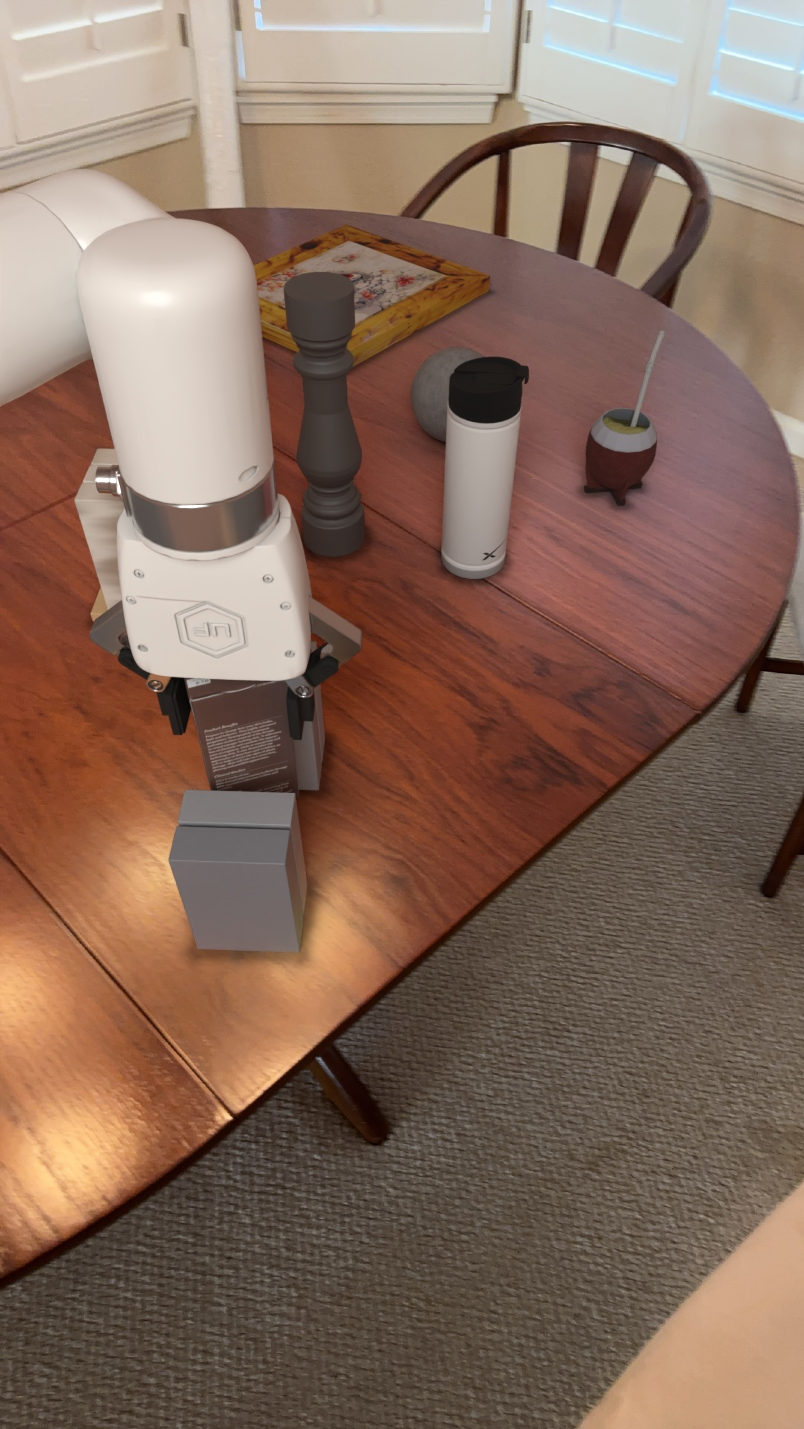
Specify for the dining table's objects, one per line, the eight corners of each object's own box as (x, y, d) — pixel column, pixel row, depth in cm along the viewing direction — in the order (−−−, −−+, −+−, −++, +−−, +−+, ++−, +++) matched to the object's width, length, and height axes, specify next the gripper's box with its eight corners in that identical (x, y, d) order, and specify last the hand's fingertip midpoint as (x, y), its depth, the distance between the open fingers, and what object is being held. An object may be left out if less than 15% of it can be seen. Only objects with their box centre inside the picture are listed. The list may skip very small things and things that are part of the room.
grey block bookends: (197, 949, 64) (167, 860, 56) (239, 736, 77) (220, 638, 69) (299, 953, 64) (285, 864, 56) (325, 738, 77) (316, 640, 68)
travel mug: (504, 584, 90) (526, 390, 75) (436, 576, 90) (443, 382, 75) (511, 544, 94) (532, 352, 79) (445, 536, 94) (454, 345, 80)
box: (284, 752, 69) (272, 632, 60) (300, 800, 66) (290, 682, 57) (202, 772, 67) (176, 652, 58) (215, 822, 64) (190, 704, 55)
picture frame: (490, 275, 130) (341, 355, 115) (488, 290, 132) (342, 372, 116) (346, 224, 142) (194, 291, 126) (347, 239, 143) (197, 307, 128)
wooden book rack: (92, 621, 86) (53, 503, 76) (136, 503, 98) (108, 388, 88) (201, 624, 86) (176, 506, 76) (232, 506, 98) (214, 390, 88)
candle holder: (360, 515, 97) (351, 267, 78) (369, 553, 93) (362, 301, 74) (300, 521, 96) (277, 272, 77) (306, 560, 92) (283, 306, 73)
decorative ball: (395, 447, 105) (395, 363, 98) (431, 405, 111) (434, 322, 104) (477, 469, 102) (484, 384, 95) (511, 425, 108) (519, 341, 101)
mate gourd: (590, 511, 97) (615, 375, 86) (569, 468, 103) (590, 335, 91) (659, 504, 98) (693, 369, 87) (635, 462, 103) (664, 329, 92)
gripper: (9, 531, 45) (93, 761, 59) (369, 545, 45) (371, 772, 59) (53, 444, 50) (121, 674, 64) (377, 456, 50) (377, 684, 64)
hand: (240, 719), depth 61 cm, fingers closed on box, 6 cm apart
